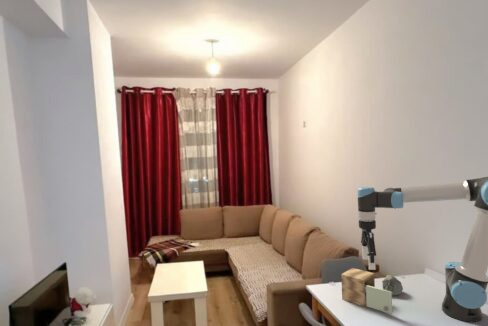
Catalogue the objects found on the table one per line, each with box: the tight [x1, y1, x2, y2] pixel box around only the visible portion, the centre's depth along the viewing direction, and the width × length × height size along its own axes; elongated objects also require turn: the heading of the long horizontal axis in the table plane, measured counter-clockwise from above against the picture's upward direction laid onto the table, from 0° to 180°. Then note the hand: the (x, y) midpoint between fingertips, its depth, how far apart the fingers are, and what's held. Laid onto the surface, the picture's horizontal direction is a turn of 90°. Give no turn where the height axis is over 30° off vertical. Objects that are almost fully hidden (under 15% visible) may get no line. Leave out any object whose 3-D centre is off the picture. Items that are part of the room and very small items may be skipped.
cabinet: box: [340, 267, 376, 307], centre depth 158 cm, size 12×12×13 cm
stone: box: [382, 274, 404, 296], centre depth 163 cm, size 10×10×10 cm
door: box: [365, 285, 393, 315], centre depth 144 cm, size 2×12×10 cm, turn 46°
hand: (368, 264), depth 145 cm, fingers open, 13 cm apart
